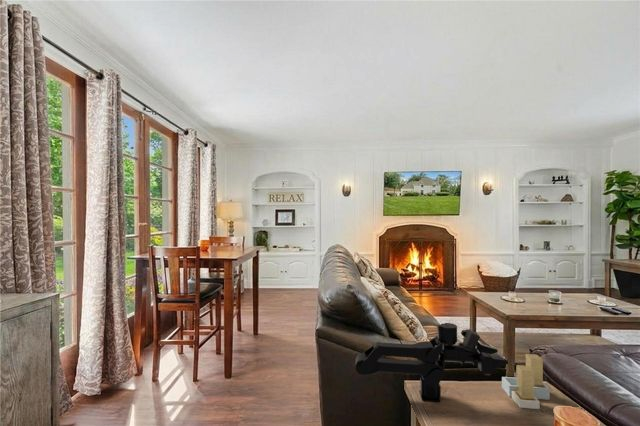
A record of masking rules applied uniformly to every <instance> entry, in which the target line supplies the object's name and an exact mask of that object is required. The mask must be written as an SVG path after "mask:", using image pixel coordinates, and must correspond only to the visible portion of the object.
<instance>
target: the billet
mask: <svg viewBox="0 0 640 426" xmlns="http://www.w3.org/2000/svg"><path fill="white" fill-rule="evenodd" d="M515 369H516V370H515V371H516V378H517V396H518V397H519V398H520V399H521V400H534V371H533V370H532V369H531V368H530V367H529V366H526V365H520V364H517V365H516V368H515Z"/></svg>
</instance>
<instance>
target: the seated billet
mask: <svg viewBox="0 0 640 426" xmlns="http://www.w3.org/2000/svg"><path fill="white" fill-rule="evenodd" d="M543 363H544V362H543V358H541V357H540V355H538V354H533V353H525V366H529V367H530V368H531V369H532V370H533V371H534V387H543V383H544V382H543V381H544V378H543V377H544V375H543V374H544V373H543V371H544V369H543V367H544V366H543Z"/></svg>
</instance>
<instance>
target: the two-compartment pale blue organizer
mask: <svg viewBox="0 0 640 426" xmlns="http://www.w3.org/2000/svg"><path fill="white" fill-rule="evenodd" d="M501 388H502V389H503V391H505V393H506V394H507V396H508V397H509V398H512V391H517V377H510V376H509V377H508V376H501ZM550 392H551V391H550V388H549V387H548V386H547V385H546V384H545V383H544V382H543V387H534V396H535V397H536V398H537V400H547V401H549V400H550V397H551V395H550V394H551V393H550Z"/></svg>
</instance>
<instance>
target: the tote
mask: <svg viewBox="0 0 640 426" xmlns="http://www.w3.org/2000/svg"><path fill="white" fill-rule="evenodd" d="M511 399H512V400H513V401H514V403H515V404H516V405H517V406H518V408H519V409H520V408H522V409H535V410H540V402H541V401H540V400H539V399H537V398H536V397H535V396H534V400H521V399H520V398H519V397H518V396H517V391H512V397H511Z"/></svg>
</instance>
